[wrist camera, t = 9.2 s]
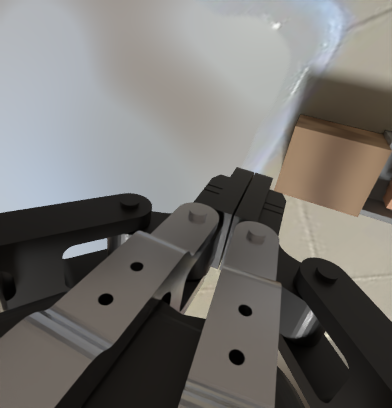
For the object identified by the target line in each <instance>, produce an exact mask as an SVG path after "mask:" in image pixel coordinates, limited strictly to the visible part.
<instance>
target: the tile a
mask: <svg viewBox="0 0 392 408" xmlns="http://www.w3.org/2000/svg"><path fill="white" fill-rule="evenodd" d="M383 200H384V203H385V206H386V208H388V209H391V210H392V184H391V185H390V187H389V188H388V190H387V191H386V193H385V195H384V196H383Z"/></svg>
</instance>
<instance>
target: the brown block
mask: <svg viewBox="0 0 392 408" xmlns="http://www.w3.org/2000/svg"><path fill="white" fill-rule="evenodd" d="M391 152H392V150H391V148H390V146H389V144H388V142H387V140H386V139H385V137H384V135H383V134H379V133H375V132H371V131H367V130H363V129H358V128H354V127H350V126H346V125H342V124H338V123H334V122H330V121H326V120H322V119H317V118H313V117H309V116H305V115H301V114H300V117H299V119H298V121H297V124H296V126H295V129H294V132H293V135H292V138H291V141H290V144H289V147H288V150H287V153H286V156H285V159H284V162H283V165H282V168H281V171H280V174H279V177H278V180H277V183H276V186H275V189H274V191H276V192H279V193H282V194H285V195H288V196H292V197H295V198H298V199H301V200H304V201H308V202H311V203H314V204H317V205H320V206H324V207H327V208H330V209H333V210H336V211H340V212H343V213H346V214H349V215H353V216H356V217H358V215H359V213H360V211H361V209H362V208H363V206H364V204H365V202H366V200H367V198H368V196H369V194H370V192H371V190H372V188H373V187H374V185H375V183H376V181H377V179H378V177H379V175H380V173H381V171H382V169H383V167H384V165H385V164H386V162H387V160H388V158H389V156H390V154H391Z"/></svg>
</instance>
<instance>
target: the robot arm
mask: <svg viewBox="0 0 392 408" xmlns="http://www.w3.org/2000/svg"><path fill="white" fill-rule="evenodd" d="M253 176H254V177H253ZM272 180H273V178H271V177H268V176H265V175H261V174H258V173H255V175H254V172H251V171H248V170H245V169H241V168H238V167H237V168H236V169H235V171H234V172H233V174H232V175H231V177H227V176H224V175H219V176H216V177H214V178H212V179H211V180H210V182H209V183H208V185H207V186H206V187H205V188H204V190H203V191H202V192H201V193H200V195H199V196H198V197H197V199H196V200H195V201H194V202H193V203H186V204H183V205H181V206H179V207H178V208H177V209H176V210H175V211H174V212H173V213H161V212H153V211H152V204H151V202H150V201H149V200H148V199H147V198H145V197H144V196H141V195H138V194H131V193H126V194H118V195H111V196H105V197H99V198H92V199H86V200H80V201H74V202H67V203H61V204H54V205H48V206H42V207H35V208H29V209H23V210H17V211H10V212H5V213H0V408H305V407H304V405H303V403H302V401H301V399H300V397H299V395H298V393H297V392H296V390H295V388H294V387H293V385H292V384H291V383H290V381H289V379H288V378H287V377H286V376H285V374H284V373H283V372H282V371H281V370H280V369H279V368H278V366H277V356H278V349H279V351H280V353H281V355H282V357H283V358H284V360H285V362H286V364H287V366H288V368H289V369H290V371H291V373H292V375H293V377H294V379H295V380H296V382H297V384H298V386H299V388H300V389H301V391H302V393H303V395H304V397H305V398H306V400H307V402H308V404H309V406H310V408H392V322H391V321H390V320H389V319H388V318H387V317H386V315H385V314H384V313H383V312H382V311H381V310H380V309H379V308H378V307H377V306H376V305H375V304H374V303H373V301H372V300H371V299H370V298H369V297H368V296H367V295H366V294H365V293H364V292H363V291H362V290H361V289H360V288H359V286H358V285H357V284H356V283H355V282H354V281H353V280H352V279H351V278H350V277H349V276H348V275H347V274H346V272H344V271H343V270H342V269H341V268H340V267H339V266H337V265H335V264H334V263H332V262H330V261H327V260H324V259H321V258H307V259H305V260H303V261H302V263H301V262H299V261H297V260H295V259H294V258H292V257H291V256H289V255H288V254H287V253H286V252H285V251H284V250H283V249H282V248H281V246H280V245H279V237H278V235H279V230H280V226H281V222H282V217H283V213H284V208H285V204H286V200H285V198H284V196H283V194H282V193H279V192H276V191H273V190H270V186H271V183H272ZM104 238H107V240H108V241H107V244H108V245H107V249H105V250H101V251H97V252H93V253H88V254H84V255H80V256H76V257H73V258H68V259H62V256H63V253H64V252H65V251H66V250H67V249H68V248H69V247H71V246H74V245H78V244H82V243H87V242H91V241H95V240H100V239H104ZM221 260H222V262H221ZM220 263H221V266H220V269H219V270H221V273H220V276H219V279H218V282H217V286H216V289H215V292H214V295H213V298H212V302H211V305H210V308H209V311H208V314H207V318H206V319H203V318H198V317H192V316H187V315H184V313H185V312H186V310H187V309H188V307H189V305H190V304H191V302H192V300H193V299H194V297H195V296H196V294H197V292H198V291H199V289H200V287H201V286H202V284H203V282H204V279H205V275H206V274H207V273H208V271H209V269H210V267H214V268H216V269H218V267H219V265H220ZM325 331H326V332H327V333H328V335H329V336H330V337H331V339H332V340H333V342H334V343H335V344H336V346H337V347H338V348H339V350H340V351H341V353H342V354H343V355H344V357H345V359H346V361H347V363H348V366H349V369H348V368H347V366H346V365H345V364H344V362H343V361H342V359H341V358H340V357H339V355H338V354H337V352H336V351H335V350H334V348H333V346H332V345H331V344H330V342H329V341H328V339H327V338H326V337H325V335H324V333H325Z"/></svg>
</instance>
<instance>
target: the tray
mask: <svg viewBox="0 0 392 408" xmlns="http://www.w3.org/2000/svg"><path fill="white" fill-rule="evenodd" d="M383 135H384V137H385V139H386V140H387V142H388V144H389V146H390V148H391V150H392V132H391V131H387V130H385V132H384V134H383ZM391 178H392V152H391V154H390V156H389V158H388V160H387V162H386V164H385V165H384V167H383V169H382V171H381V173H380V175H379V177H378V179H377V181H376V183H375V185H374V187H373V188H372V190H371V192H370V194H369V196H368V198H367V200H366V202H365V204H364V206H363V208H362V209H361V211H360V213H359V214H361V215H364V216H367V217H371V218H374V219H377V220H380V221H384V222H387V223H390V224H392V210H391V209H388V208H386V206H385V203H384V200H383V196H384V195H385V193H386V189H387V187H388V184H389V182H390V180H391Z"/></svg>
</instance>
